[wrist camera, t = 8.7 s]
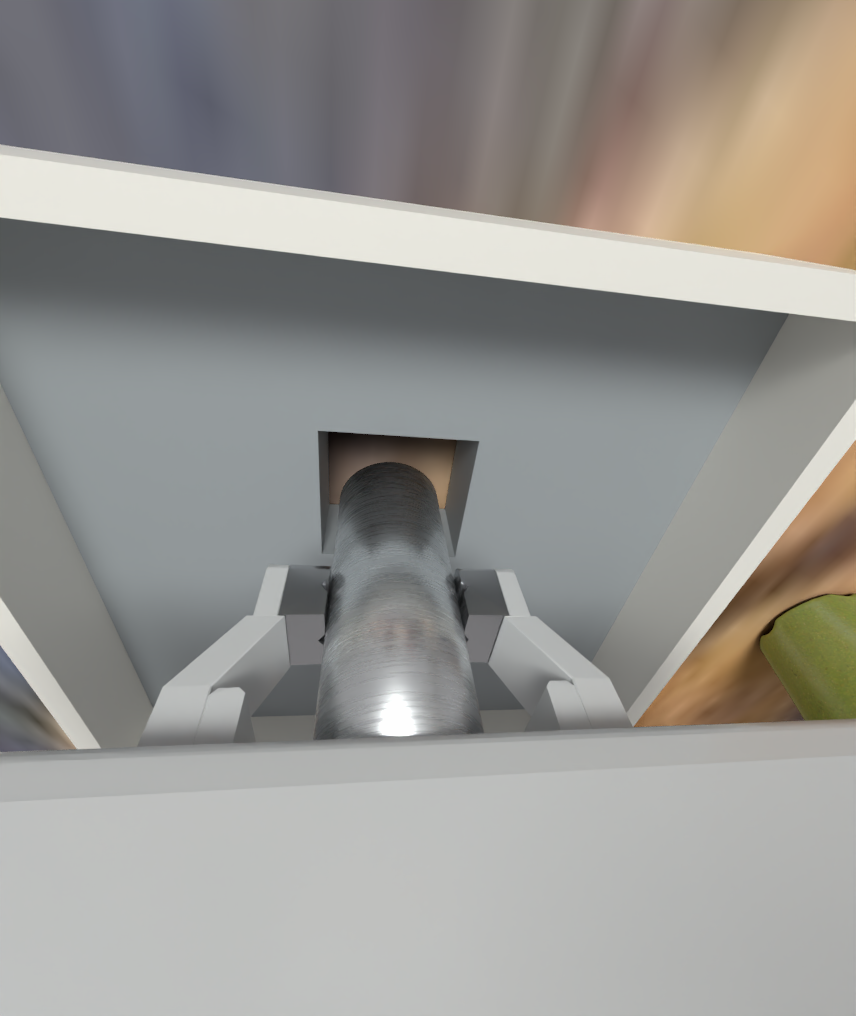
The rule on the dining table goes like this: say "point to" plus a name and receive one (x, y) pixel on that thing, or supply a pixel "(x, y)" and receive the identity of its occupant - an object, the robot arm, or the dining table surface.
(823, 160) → the dining table surface
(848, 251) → the dining table surface
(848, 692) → the plant pot
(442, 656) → the peg
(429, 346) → the box
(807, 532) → the dining table surface
